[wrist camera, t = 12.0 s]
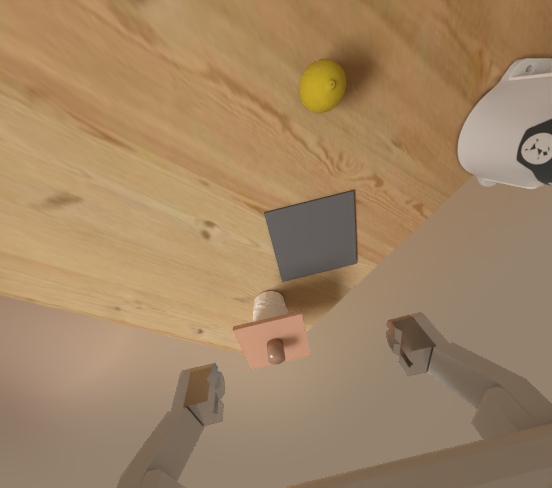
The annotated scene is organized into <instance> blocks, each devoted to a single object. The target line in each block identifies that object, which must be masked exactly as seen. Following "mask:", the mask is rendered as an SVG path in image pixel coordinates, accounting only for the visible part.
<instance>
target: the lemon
mask: <svg viewBox="0 0 552 488" xmlns="http://www.w3.org/2000/svg"><path fill="white" fill-rule="evenodd" d="M345 89H346V76H345V73H344V70H343V69H342V67H341V66H340V65H339V64H338V63H336V62H335V61H333V60H330V59H321V60H318V61H315V62H313V63H312V64H311V65H309V66H308V67H307V69H306V70H305V71H304V73H303V75H302V77H301V80H300V83H299V95H300V99H301V101H302V103H303V105H304V106H305V107H306V108H307V109H308V110H310V111H312V112H314V113H324V112H328V111H330V110H332V109H333V108H334V107H335V106H337V105H338V103H339V102H340V101H341V99H342V98H343V95H344V93H345Z"/></svg>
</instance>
